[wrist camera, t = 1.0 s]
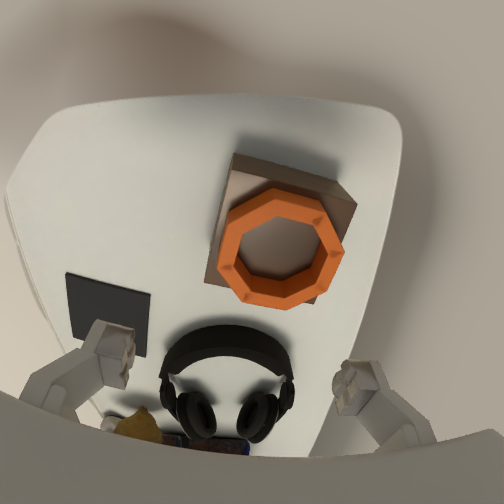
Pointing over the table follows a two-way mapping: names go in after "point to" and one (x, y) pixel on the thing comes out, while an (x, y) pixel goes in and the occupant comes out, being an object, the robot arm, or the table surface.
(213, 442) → the decorative box
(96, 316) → the mat
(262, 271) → the block
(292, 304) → the ring
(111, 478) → the robot arm
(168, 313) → the table surface
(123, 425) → the decorative stone
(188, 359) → the headphones
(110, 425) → the tiered spinning top
